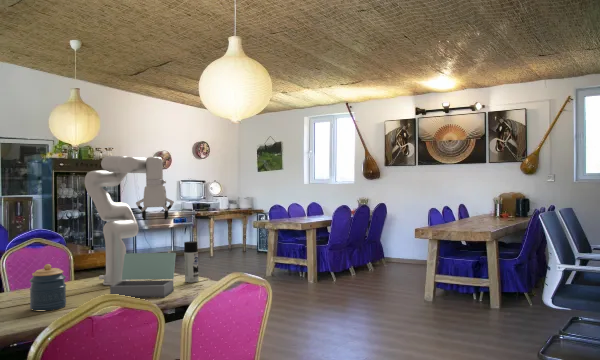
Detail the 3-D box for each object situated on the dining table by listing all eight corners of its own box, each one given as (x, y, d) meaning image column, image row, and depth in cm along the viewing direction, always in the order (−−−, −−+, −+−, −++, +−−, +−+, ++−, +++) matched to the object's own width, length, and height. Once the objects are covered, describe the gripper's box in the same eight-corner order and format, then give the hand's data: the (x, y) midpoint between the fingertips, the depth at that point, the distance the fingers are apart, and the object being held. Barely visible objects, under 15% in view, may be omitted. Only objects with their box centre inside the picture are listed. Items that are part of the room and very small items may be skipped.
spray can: (195, 283, 232) (194, 242, 232) (182, 282, 233) (181, 242, 234) (200, 280, 239) (199, 241, 239) (188, 280, 240) (187, 241, 240)
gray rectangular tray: (110, 298, 204) (110, 286, 204) (122, 291, 215) (122, 280, 216) (164, 297, 202) (164, 285, 202) (173, 291, 214) (173, 280, 214)
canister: (27, 313, 180) (27, 267, 180) (32, 306, 192) (31, 263, 192) (65, 309, 185) (64, 264, 186) (67, 302, 197) (66, 260, 197)
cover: (124, 253, 219) (125, 253, 220) (121, 279, 215) (122, 279, 216) (175, 252, 218) (175, 253, 219) (172, 278, 214) (173, 279, 215)
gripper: (174, 182, 225) (175, 218, 225) (137, 183, 223) (138, 219, 223) (172, 182, 217) (172, 219, 217) (133, 183, 216) (134, 220, 215)
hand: (155, 219), depth 220 cm, fingers open, 9 cm apart
